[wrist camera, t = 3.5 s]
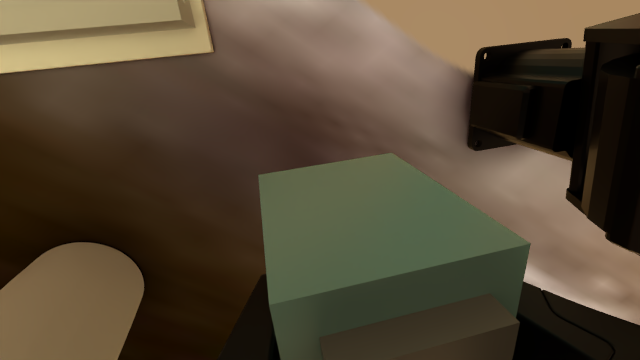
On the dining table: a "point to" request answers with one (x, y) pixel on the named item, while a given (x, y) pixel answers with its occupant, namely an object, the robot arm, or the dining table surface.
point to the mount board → (98, 32)
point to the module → (386, 266)
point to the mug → (70, 305)
